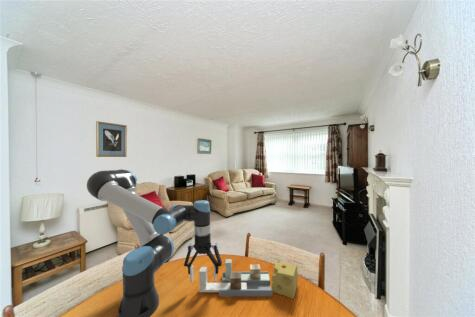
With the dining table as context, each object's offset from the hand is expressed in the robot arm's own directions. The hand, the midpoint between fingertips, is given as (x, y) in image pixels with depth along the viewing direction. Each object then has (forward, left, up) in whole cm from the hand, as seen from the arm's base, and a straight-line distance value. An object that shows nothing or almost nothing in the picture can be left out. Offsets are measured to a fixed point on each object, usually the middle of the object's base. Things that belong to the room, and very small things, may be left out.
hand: (203, 280), depth 85 cm
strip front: (+10, 0, -4) cm, 10 cm away
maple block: (+25, +7, -3) cm, 26 cm away
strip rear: (+21, +7, -4) cm, 22 cm away
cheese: (+39, +2, -5) cm, 39 cm away
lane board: (+20, +4, -5) cm, 21 cm away
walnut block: (+16, 0, -3) cm, 16 cm away
